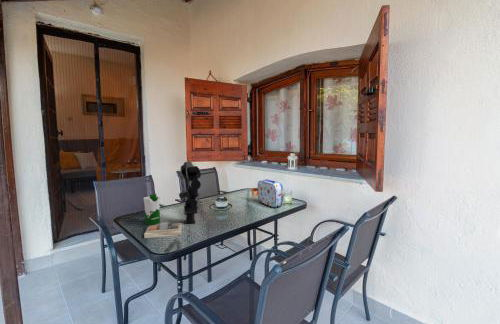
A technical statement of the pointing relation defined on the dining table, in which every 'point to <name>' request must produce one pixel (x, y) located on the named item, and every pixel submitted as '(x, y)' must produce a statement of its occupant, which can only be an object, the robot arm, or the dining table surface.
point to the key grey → (164, 226)
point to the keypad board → (163, 231)
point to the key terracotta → (154, 228)
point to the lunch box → (270, 193)
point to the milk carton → (152, 209)
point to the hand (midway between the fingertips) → (193, 211)
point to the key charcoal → (174, 226)
